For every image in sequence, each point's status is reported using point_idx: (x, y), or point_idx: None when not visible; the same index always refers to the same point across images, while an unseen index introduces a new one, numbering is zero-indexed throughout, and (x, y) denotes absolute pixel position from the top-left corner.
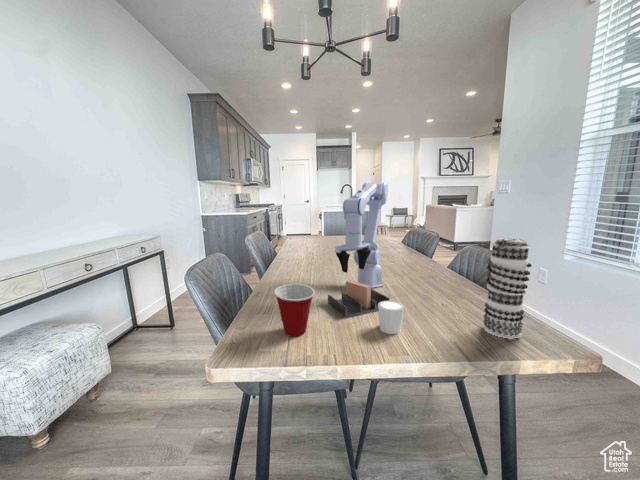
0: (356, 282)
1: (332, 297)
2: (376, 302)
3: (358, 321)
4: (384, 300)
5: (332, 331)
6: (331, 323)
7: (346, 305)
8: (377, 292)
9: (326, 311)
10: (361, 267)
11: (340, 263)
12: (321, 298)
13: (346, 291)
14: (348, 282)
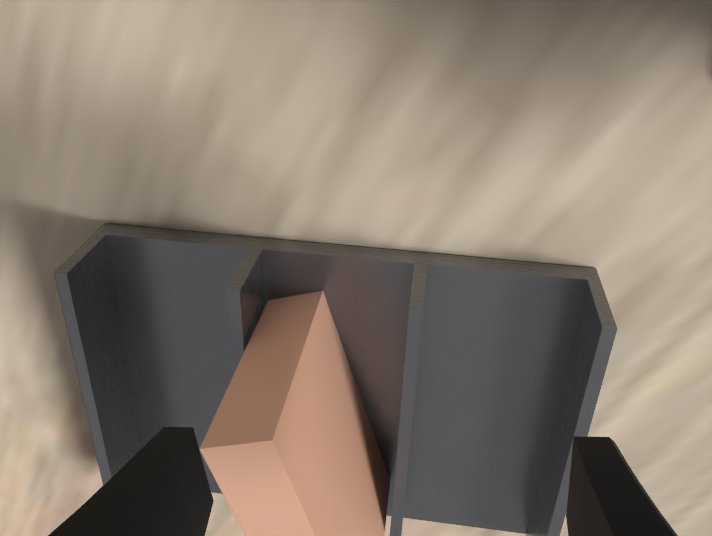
0: (300, 532)
1: (77, 353)
2: (496, 455)
3: (208, 527)
4: (537, 522)
5: (22, 525)
6: (40, 469)
7: (223, 375)
8: (565, 477)
9: (51, 332)
10: (572, 519)
11: (55, 534)
12: (80, 57)
13: (242, 369)
14: (218, 478)
